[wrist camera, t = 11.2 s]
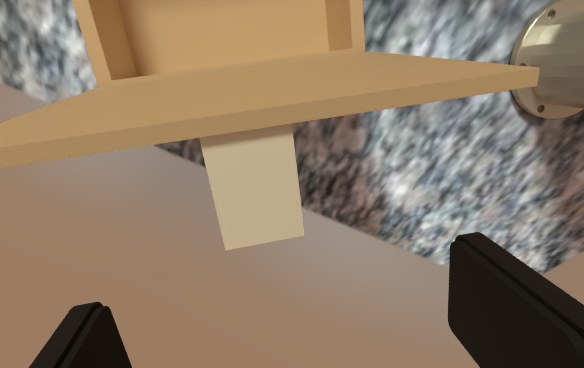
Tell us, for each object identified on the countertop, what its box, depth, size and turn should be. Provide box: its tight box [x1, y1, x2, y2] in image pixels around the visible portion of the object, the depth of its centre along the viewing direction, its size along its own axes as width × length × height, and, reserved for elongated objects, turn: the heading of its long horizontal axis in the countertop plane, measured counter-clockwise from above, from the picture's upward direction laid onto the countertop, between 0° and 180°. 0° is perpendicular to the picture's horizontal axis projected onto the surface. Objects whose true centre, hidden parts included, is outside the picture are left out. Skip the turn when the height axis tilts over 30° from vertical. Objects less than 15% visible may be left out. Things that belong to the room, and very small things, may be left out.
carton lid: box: [0, 52, 540, 250], centre depth 19 cm, size 20×16×5 cm
